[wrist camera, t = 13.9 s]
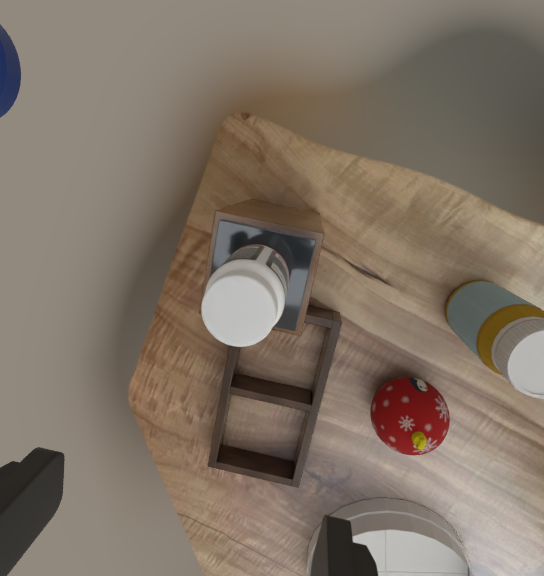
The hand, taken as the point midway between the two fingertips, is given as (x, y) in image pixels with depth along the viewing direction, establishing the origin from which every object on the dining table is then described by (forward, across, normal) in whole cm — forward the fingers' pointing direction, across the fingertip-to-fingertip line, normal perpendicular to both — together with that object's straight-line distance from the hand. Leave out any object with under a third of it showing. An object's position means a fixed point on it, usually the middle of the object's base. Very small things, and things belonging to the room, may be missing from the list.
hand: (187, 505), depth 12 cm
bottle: (+38, -23, +1) cm, 44 cm away
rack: (+37, -2, +16) cm, 41 cm away
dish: (+38, -22, +40) cm, 59 cm away
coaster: (+19, +1, -2) cm, 19 cm away
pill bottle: (+19, +1, -3) cm, 19 cm away
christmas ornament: (+38, -18, +14) cm, 44 cm away
